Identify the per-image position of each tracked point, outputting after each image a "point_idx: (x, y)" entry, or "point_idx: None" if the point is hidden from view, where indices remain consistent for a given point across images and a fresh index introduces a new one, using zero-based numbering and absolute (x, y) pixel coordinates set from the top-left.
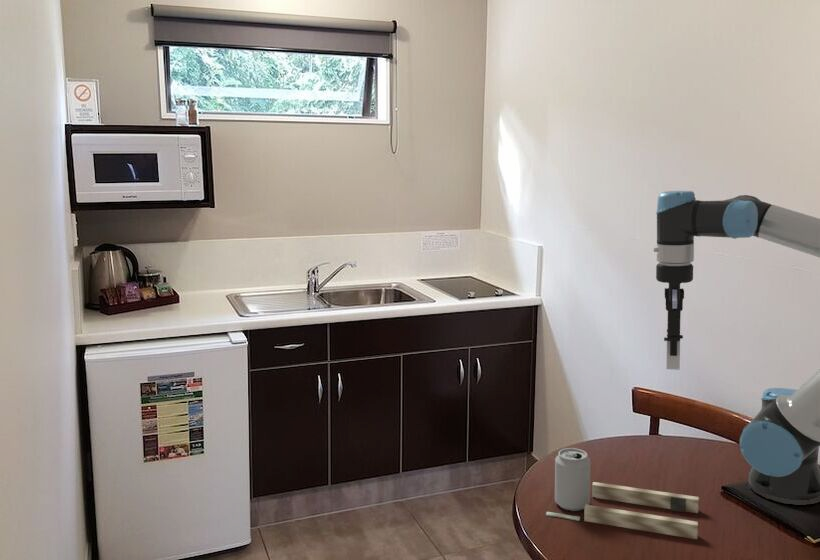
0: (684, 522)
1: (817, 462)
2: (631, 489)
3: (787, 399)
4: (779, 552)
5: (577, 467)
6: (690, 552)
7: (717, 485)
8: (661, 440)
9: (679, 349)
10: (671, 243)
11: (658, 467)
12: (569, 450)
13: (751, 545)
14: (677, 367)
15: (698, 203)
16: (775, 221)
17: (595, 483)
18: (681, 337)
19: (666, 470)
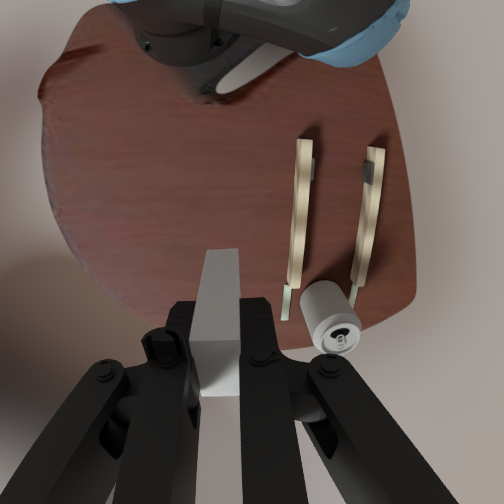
0: (381, 165)
1: None
2: (302, 237)
3: None
4: (377, 58)
5: (360, 324)
6: (403, 158)
7: (200, 109)
8: (66, 207)
9: (238, 304)
10: None
11: (162, 200)
12: (322, 346)
13: (371, 85)
14: (238, 261)
15: None
16: None
17: (294, 285)
18: (183, 342)
19: (169, 187)
